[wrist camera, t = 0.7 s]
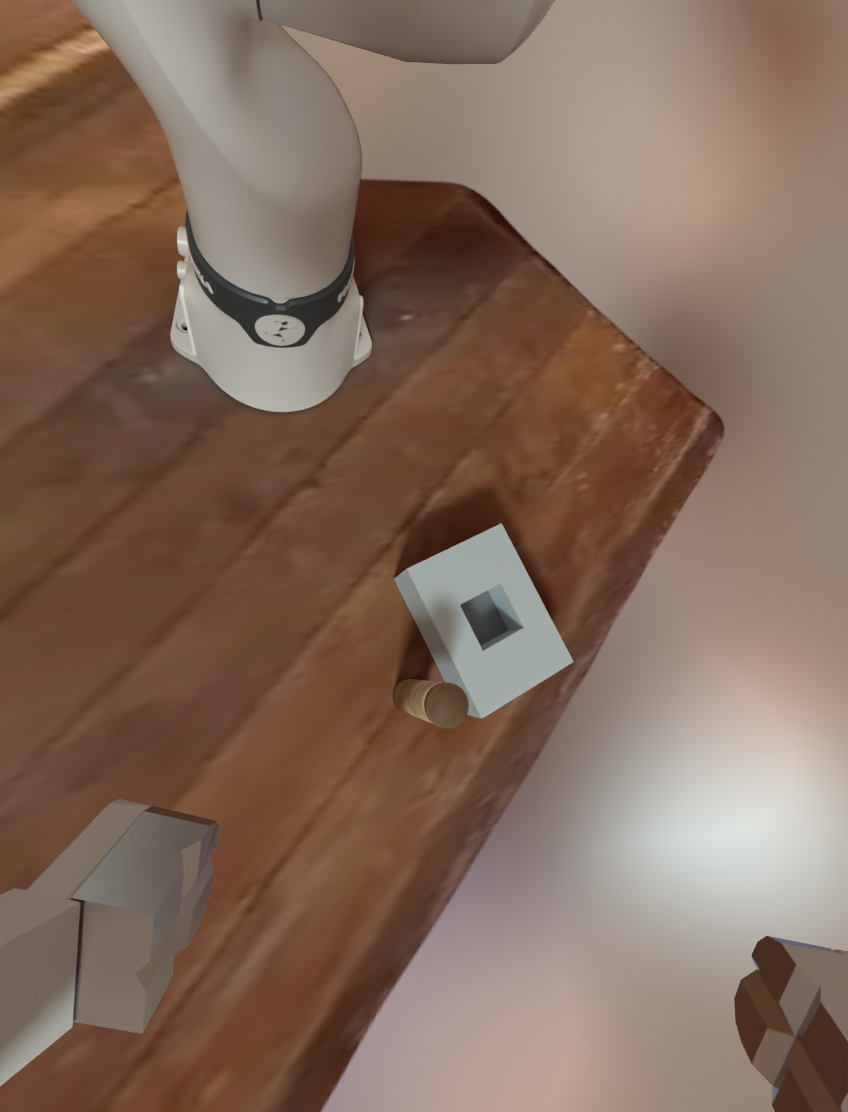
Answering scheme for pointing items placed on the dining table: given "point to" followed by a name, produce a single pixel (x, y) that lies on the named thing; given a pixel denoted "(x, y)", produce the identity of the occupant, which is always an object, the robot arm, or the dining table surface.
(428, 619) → the socket block
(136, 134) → the dining table surface
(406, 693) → the dowel pin
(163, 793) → the dining table surface
